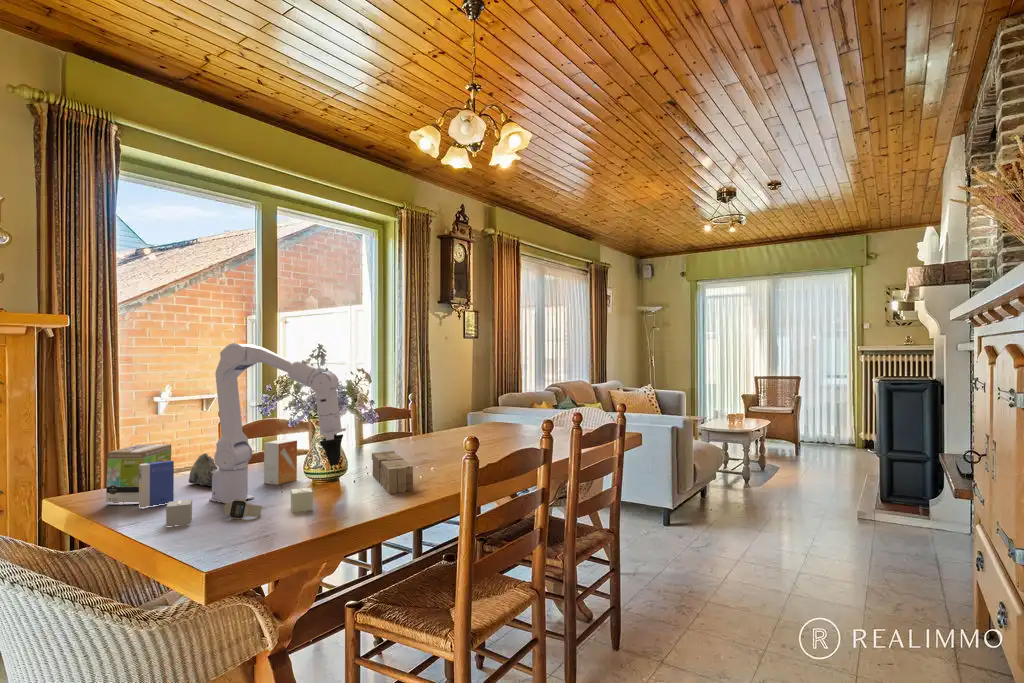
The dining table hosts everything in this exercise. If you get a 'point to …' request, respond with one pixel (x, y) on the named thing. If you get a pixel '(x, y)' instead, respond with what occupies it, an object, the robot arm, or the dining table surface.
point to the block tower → (392, 471)
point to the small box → (280, 461)
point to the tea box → (131, 469)
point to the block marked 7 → (301, 499)
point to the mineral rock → (203, 470)
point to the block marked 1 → (179, 513)
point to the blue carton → (156, 483)
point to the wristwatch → (241, 509)
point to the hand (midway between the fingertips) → (335, 463)
